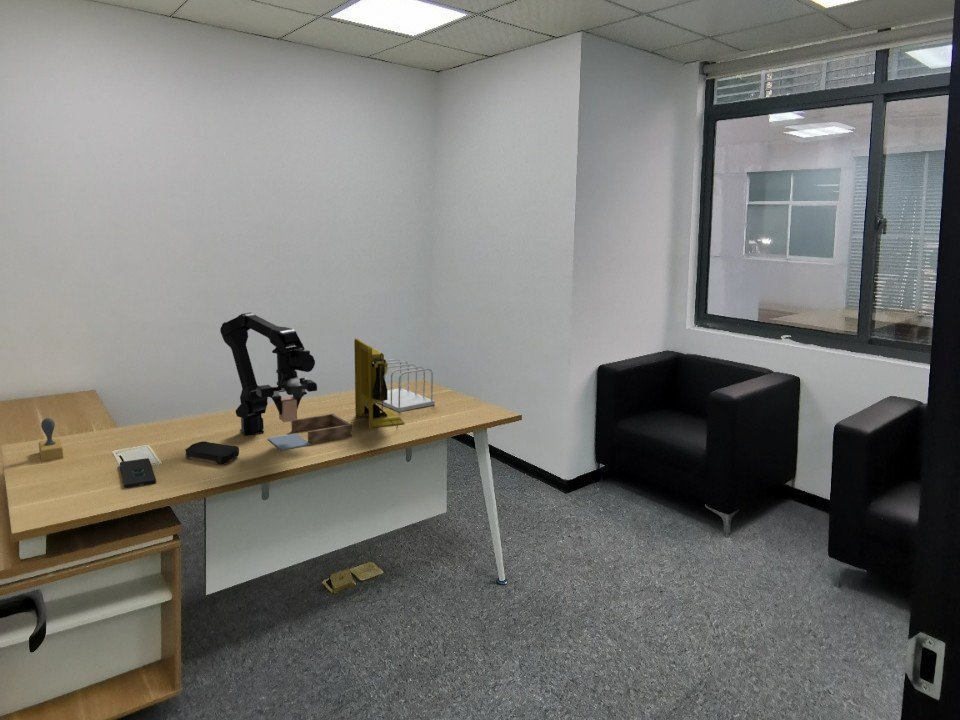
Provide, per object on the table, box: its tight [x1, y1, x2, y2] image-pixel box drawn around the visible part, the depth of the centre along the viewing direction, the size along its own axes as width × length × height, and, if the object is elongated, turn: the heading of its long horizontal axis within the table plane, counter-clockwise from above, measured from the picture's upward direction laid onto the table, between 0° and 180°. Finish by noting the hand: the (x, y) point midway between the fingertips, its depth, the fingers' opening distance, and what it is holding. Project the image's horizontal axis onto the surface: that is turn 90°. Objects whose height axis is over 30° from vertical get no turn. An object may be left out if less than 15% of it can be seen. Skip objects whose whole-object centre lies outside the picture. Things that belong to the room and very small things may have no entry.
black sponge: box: [184, 440, 240, 465], centre depth 215 cm, size 16×8×4 cm, turn 70°
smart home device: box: [119, 457, 157, 489], centre depth 200 cm, size 8×2×20 cm
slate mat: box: [267, 432, 312, 451], centre depth 231 cm, size 10×13×1 cm
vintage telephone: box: [353, 338, 406, 430], centre depth 253 cm, size 31×14×30 cm, turn 25°
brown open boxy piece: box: [290, 413, 353, 444], centre depth 240 cm, size 16×16×4 cm
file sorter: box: [378, 358, 436, 413], centre depth 282 cm, size 25×17×16 cm
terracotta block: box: [278, 396, 298, 423], centre depth 229 cm, size 4×4×7 cm
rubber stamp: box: [38, 417, 64, 462], centre depth 213 cm, size 10×6×12 cm, turn 35°
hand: (287, 413), depth 229 cm, fingers closed on terracotta block, 4 cm apart
